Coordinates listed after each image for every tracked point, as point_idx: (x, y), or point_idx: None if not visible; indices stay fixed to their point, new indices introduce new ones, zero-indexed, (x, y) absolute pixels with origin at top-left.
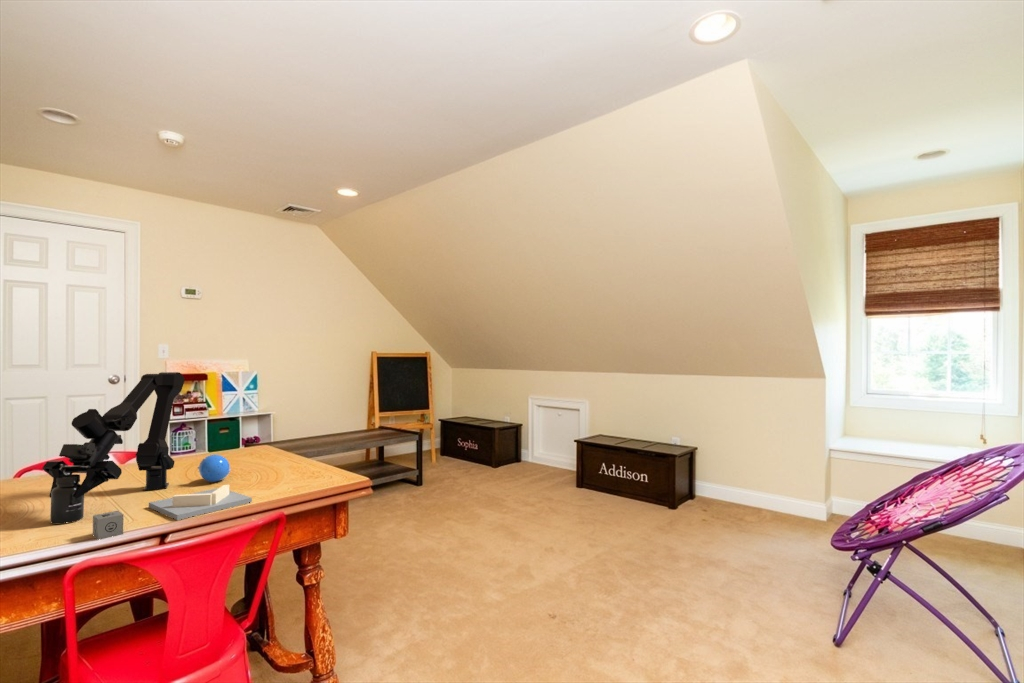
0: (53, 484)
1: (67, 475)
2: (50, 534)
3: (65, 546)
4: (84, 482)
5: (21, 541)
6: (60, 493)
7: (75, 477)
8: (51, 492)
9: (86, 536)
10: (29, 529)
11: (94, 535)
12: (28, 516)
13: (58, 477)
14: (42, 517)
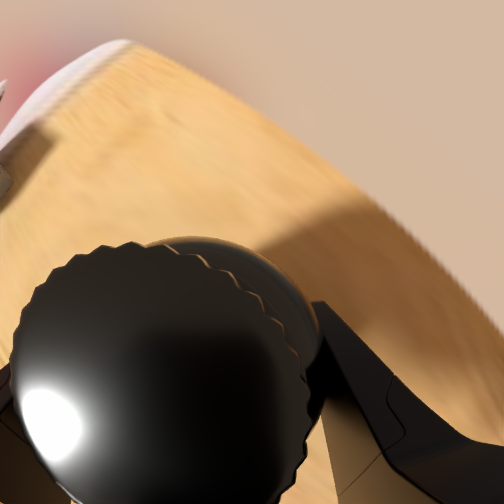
0: (380, 377)
1: (203, 472)
2: (140, 166)
3: (40, 106)
4: (9, 377)
5: (187, 102)
6: (152, 242)
7: (18, 366)
8: (271, 262)
9: (23, 170)
10: (293, 213)
11: (3, 169)
12: (467, 377)
13: (222, 300)
14: (402, 379)
